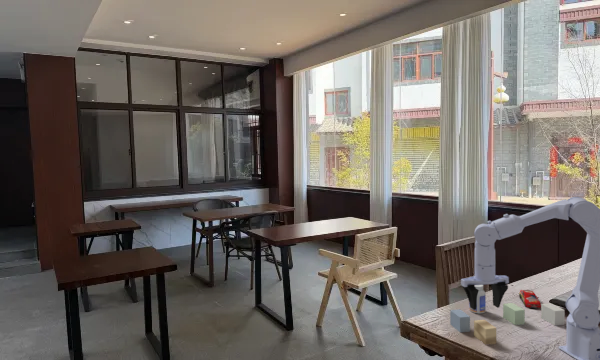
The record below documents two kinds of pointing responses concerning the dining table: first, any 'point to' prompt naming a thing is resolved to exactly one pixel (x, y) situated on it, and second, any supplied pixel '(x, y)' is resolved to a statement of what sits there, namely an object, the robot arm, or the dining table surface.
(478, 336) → the oak brick
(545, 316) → the grey brick
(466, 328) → the slate-blue brick
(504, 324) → the dining table surface
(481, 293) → the pill bottle
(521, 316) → the sage brick
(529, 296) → the race car
